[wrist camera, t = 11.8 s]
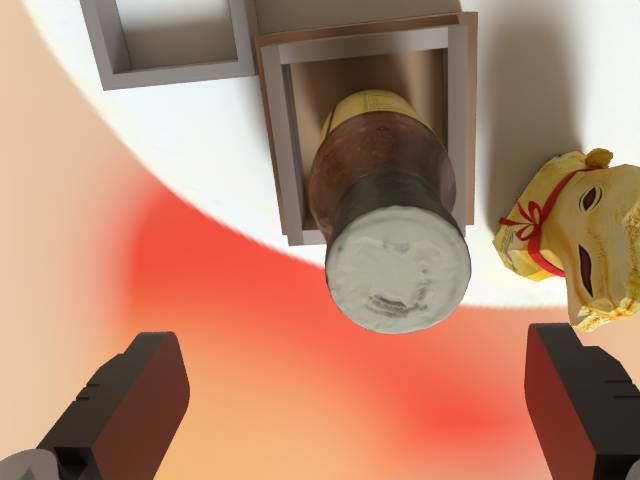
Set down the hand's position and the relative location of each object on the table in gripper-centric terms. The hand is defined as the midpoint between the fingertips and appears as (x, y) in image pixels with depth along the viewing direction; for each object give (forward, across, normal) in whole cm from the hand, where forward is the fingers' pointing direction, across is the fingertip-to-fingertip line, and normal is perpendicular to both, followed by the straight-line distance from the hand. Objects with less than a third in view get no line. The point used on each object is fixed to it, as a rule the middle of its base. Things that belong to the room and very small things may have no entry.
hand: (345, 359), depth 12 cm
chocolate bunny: (+29, -12, +7) cm, 32 cm away
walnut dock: (+29, 0, 0) cm, 29 cm away
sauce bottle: (+23, 0, 0) cm, 23 cm away
